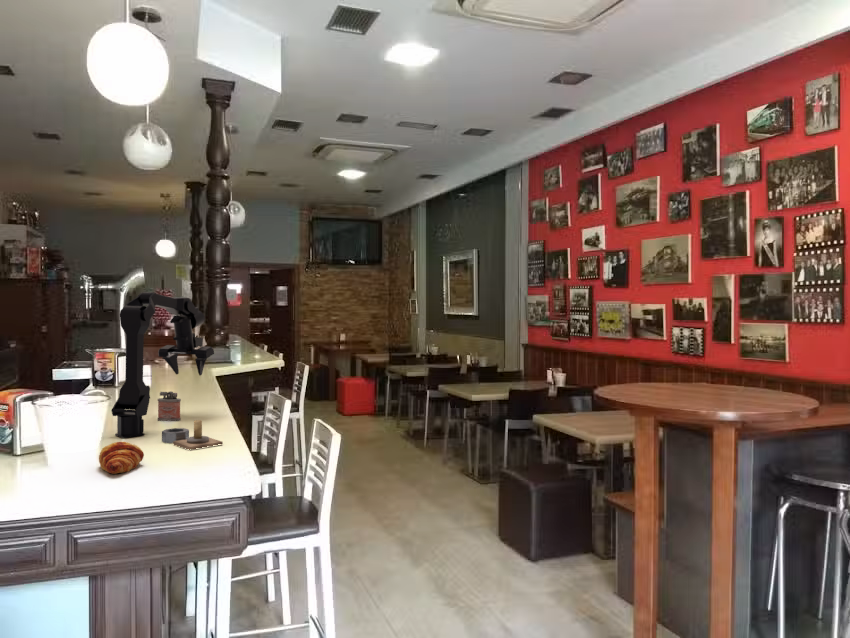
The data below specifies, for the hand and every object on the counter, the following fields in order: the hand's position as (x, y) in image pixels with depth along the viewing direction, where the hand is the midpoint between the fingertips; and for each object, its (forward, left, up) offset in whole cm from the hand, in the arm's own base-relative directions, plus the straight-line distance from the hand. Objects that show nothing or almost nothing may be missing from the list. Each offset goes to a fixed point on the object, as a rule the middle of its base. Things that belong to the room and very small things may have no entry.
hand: (188, 374), depth 229 cm
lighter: (-8, -2, -15) cm, 17 cm away
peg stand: (-19, -45, -15) cm, 51 cm away
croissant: (-44, -55, -16) cm, 72 cm away
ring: (-21, -35, -15) cm, 43 cm away
